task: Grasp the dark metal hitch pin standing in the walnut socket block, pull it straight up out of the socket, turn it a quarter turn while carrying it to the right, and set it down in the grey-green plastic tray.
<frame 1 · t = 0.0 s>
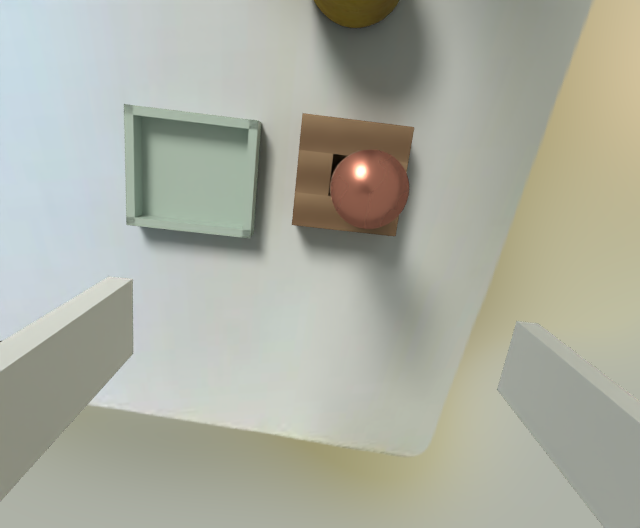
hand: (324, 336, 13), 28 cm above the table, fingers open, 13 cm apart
hitch pin: (348, 175, 39), resting on socket block
tray: (197, 173, 39), on the table
socket block: (347, 175, 39), on the table
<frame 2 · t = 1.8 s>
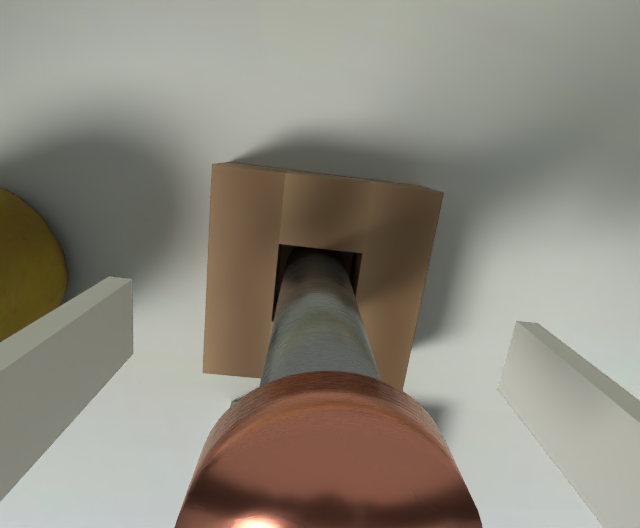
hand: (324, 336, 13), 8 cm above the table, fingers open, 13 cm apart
hitch pin: (315, 269, 21), resting on socket block
socket block: (314, 266, 21), on the table
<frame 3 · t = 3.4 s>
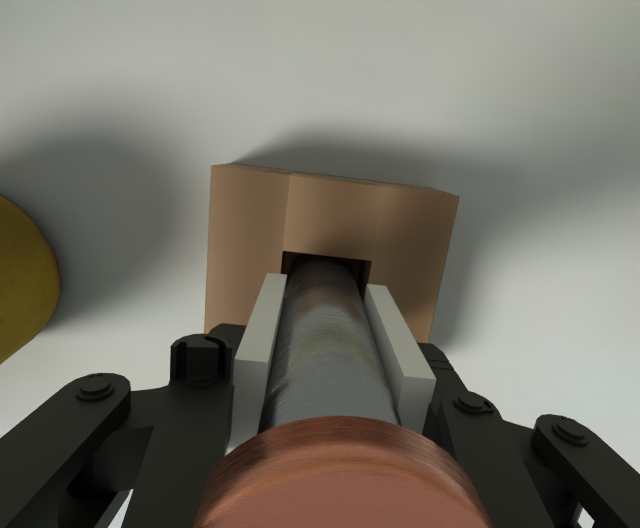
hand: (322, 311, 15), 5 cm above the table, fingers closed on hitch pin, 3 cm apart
hitch pin: (320, 276, 20), point 1 cm above the table, touching gripper, socket block
socket block: (320, 273, 20), on the table
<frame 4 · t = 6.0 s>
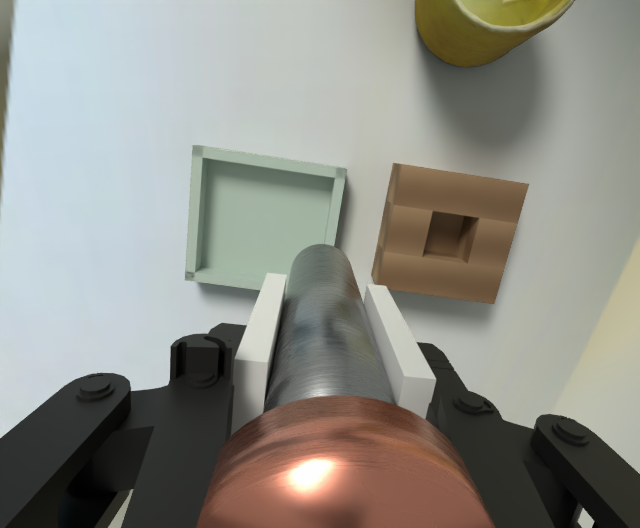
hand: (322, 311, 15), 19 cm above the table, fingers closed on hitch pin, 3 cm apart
hitch pin: (321, 273, 20), point 14 cm above the table, touching gripper
tray: (266, 221, 34), on the table
socket block: (437, 229, 34), on the table
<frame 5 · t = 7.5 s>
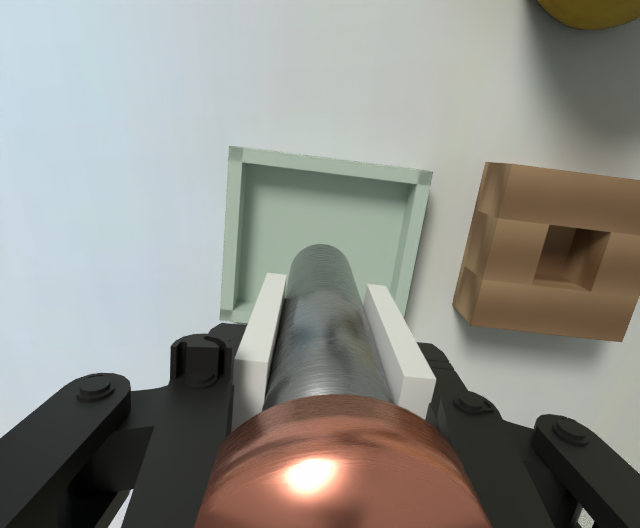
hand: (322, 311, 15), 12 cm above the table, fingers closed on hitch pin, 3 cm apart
hitch pin: (320, 273, 20), point 7 cm above the table, touching gripper
tray: (320, 241, 27), on the table
socket block: (538, 245, 27), on the table
when the fingers open (7 cm above the table, at t = 8.8 s): hitch pin stays where it is, resting on tray.
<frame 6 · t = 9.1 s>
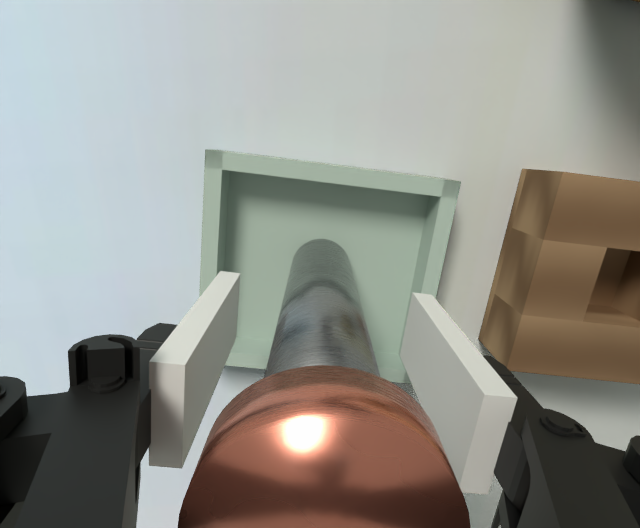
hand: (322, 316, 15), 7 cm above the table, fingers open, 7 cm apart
hitch pin: (320, 267, 21), point 1 cm above the table, touching tray
tray: (320, 264, 22), on the table
socket block: (583, 269, 22), on the table
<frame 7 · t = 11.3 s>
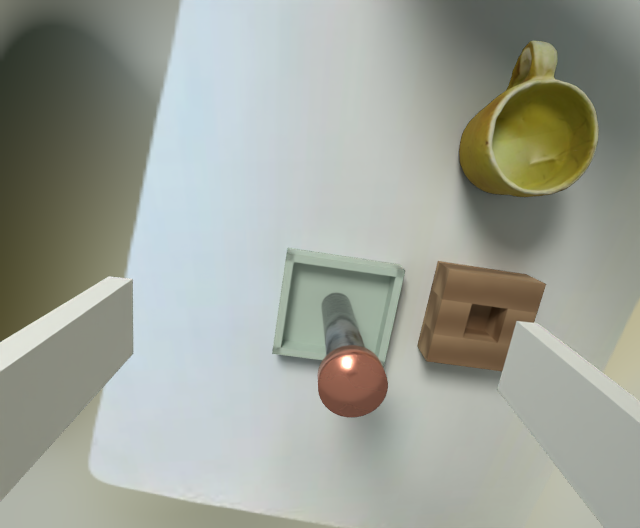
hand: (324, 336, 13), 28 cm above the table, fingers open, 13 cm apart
mug: (499, 129, 39), on the table
hitch pin: (336, 306, 42), point 1 cm above the table, touching tray
tray: (335, 304, 42), on the table
socket block: (471, 311, 43), on the table
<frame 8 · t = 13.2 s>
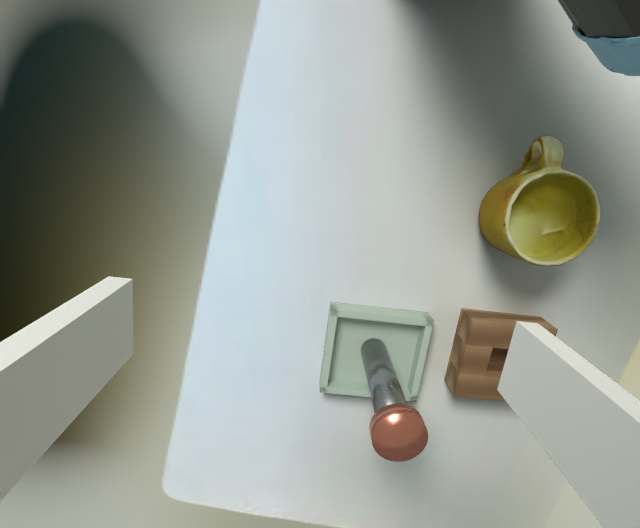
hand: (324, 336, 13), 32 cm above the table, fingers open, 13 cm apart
mug: (513, 196, 44), on the table
hitch pin: (373, 349, 48), point 1 cm above the table, touching tray
tray: (372, 347, 49), on the table
socket block: (491, 349, 49), on the table
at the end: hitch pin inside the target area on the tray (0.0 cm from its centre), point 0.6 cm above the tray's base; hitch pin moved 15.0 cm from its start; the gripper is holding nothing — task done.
